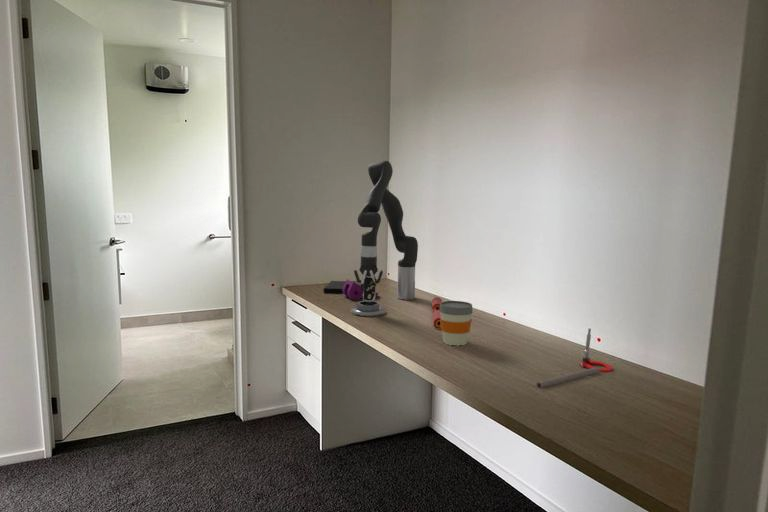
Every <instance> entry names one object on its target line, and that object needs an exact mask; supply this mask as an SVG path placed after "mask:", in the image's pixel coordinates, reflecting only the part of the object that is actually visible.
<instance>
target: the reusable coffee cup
mask: <svg viewBox="0 0 768 512" xmlns="http://www.w3.org/2000/svg"><path fill="white" fill-rule="evenodd" d="M439 311H440V314H441V317H440V326H441V329H440V330H441V333H442V334H441V335H442V336H441V337H442V343H443V342H444V343H446V344H449V345H448V346H451V345H457V346H456V347H460V346H459V345H463V346H465V344H466V345H467V342H468V338H469V337H468V336H469V332H470V331H471V325H472V320H473V319H472V314H473V313H474V311H473V304H472V303H470V302H467V301H461V300H444V301H442V302H441V303H440V310H439ZM444 343H443V344H444ZM446 344H445V345H446Z"/></svg>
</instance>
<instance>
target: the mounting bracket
mask: <svg viewBox="0 0 768 512" xmlns="http://www.w3.org/2000/svg"><path fill="white" fill-rule="evenodd" d="M345 281H346V282H345V284H344V286H343V295H344V296H345V297H347V298H349V299H351V300H353V299H359V300H360V299H361V298H363V292H362V291H361V284H360V283H357V282H355V281H352V280H350V279H346V280H345ZM354 282H355V283H354ZM378 296H379V293H378V292H376V293H375V298H376V297H377V298H378ZM353 301H354V300H353Z"/></svg>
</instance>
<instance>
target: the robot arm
mask: <svg viewBox="0 0 768 512" xmlns="http://www.w3.org/2000/svg"><path fill="white" fill-rule="evenodd" d="M367 171H368V176H369V179H370V181H371V183H372V185H373V187H372V188H371V190H369V193H368V195H367V198H366V202H365V204H364V206H363V207H362V209H361V211H360V212H359V214H358V216H357V224H358V225H359V226H360V227H361V228H371V230H370V231H368V232H362V234H361V247H360V267H359V268H357V269H354V270H353V272H354V276H355V280H356V283H357V284H360V285H361V291H362V292H364V279H365V277H366V276H368V277H373V278H374V276H376V273H377V274H378V277H377V279H376V283H375V284H376V285H377V284H380V282H381V279H382V275H383V273H384V270H381V269H379V268H378V248H377V245H378V244H377V242H378V241H377V238H378V232H379V229H380V226H381V223H382V222H381V221H382V217H381V214H380V213H379V212H380V209H381V206H382V209H383V212H384V215H385V217H386V221H387V222H388V226H389V228H390V232H391V234H392V239H393V243H394V246H395V249H396V250H397V252H399V253H402V254H403V257H402V259H399V260H398V261H397V288H396V289H397V290H396V291H397V293H396V298H397V299H399V300H403V299H404V300H406V301H409V299H410V300H415V299H416V294H415V293H416V263H417V262H418V250H419V244H418V240H417V238H416V237H415V236H410V235H406V234H405V231H404V228H403V221H404V220H403V219H404V211H403V206H402V204H401V201H400V200H399V198H398V197H397V196H396V195H394V193H392V192H391V191H390V189H389V190H388V189H387V188H388V186H389V183H390V181H391V180H392V176H393V172H394V171H393V166H392V164H391V162H390V161H388V160H382V161H377V162H373V163H370V164H369V165H368V167H367ZM360 273H361V275H362V278H361V279H360V276H359V274H360ZM375 290H376V291H377V288H376V289H375Z"/></svg>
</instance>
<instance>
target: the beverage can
mask: <svg viewBox="0 0 768 512" xmlns="http://www.w3.org/2000/svg"><path fill="white" fill-rule="evenodd" d="M376 280H377V277H376V275H374V278H373V277H368V276H366V277H365V279H364V292H363V295H362V301H366V302H373V301H376V296H375V293H377V292H376V291H377V284H375V283H376ZM375 289H376V290H375Z"/></svg>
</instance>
